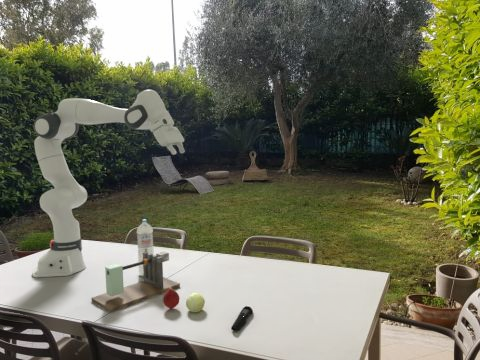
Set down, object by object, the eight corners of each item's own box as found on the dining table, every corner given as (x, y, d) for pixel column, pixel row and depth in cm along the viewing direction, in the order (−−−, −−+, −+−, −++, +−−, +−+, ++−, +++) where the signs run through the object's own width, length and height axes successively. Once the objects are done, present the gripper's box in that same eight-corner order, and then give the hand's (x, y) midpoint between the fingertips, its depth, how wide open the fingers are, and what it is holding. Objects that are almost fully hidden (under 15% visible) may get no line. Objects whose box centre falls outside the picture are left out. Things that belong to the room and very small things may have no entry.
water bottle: (156, 272, 181) (154, 218, 178) (151, 277, 174) (149, 221, 171) (141, 271, 182) (139, 218, 179) (136, 277, 175) (134, 221, 172)
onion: (182, 306, 144) (181, 285, 143) (174, 313, 139) (174, 291, 138) (168, 304, 146) (167, 283, 145) (160, 311, 141) (159, 289, 140)
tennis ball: (196, 287, 145) (182, 293, 140) (209, 294, 141) (196, 301, 136) (195, 303, 146) (181, 310, 141) (208, 311, 142) (194, 318, 137)
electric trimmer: (228, 333, 126) (227, 324, 125) (243, 312, 140) (243, 303, 140) (239, 335, 124) (239, 326, 124) (253, 313, 139) (253, 304, 139)
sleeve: (111, 296, 146) (110, 269, 145) (106, 293, 148) (105, 266, 147) (123, 292, 150) (122, 265, 148) (118, 289, 152) (117, 263, 151)
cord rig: (110, 312, 140) (108, 274, 139) (91, 301, 150) (89, 265, 148) (179, 287, 163) (178, 253, 161) (159, 278, 172) (158, 247, 171)
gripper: (166, 128, 179) (181, 155, 179) (147, 128, 159) (163, 158, 159) (178, 121, 177) (193, 148, 178) (159, 120, 158) (176, 151, 158)
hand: (179, 153), depth 168 cm, fingers open, 8 cm apart
